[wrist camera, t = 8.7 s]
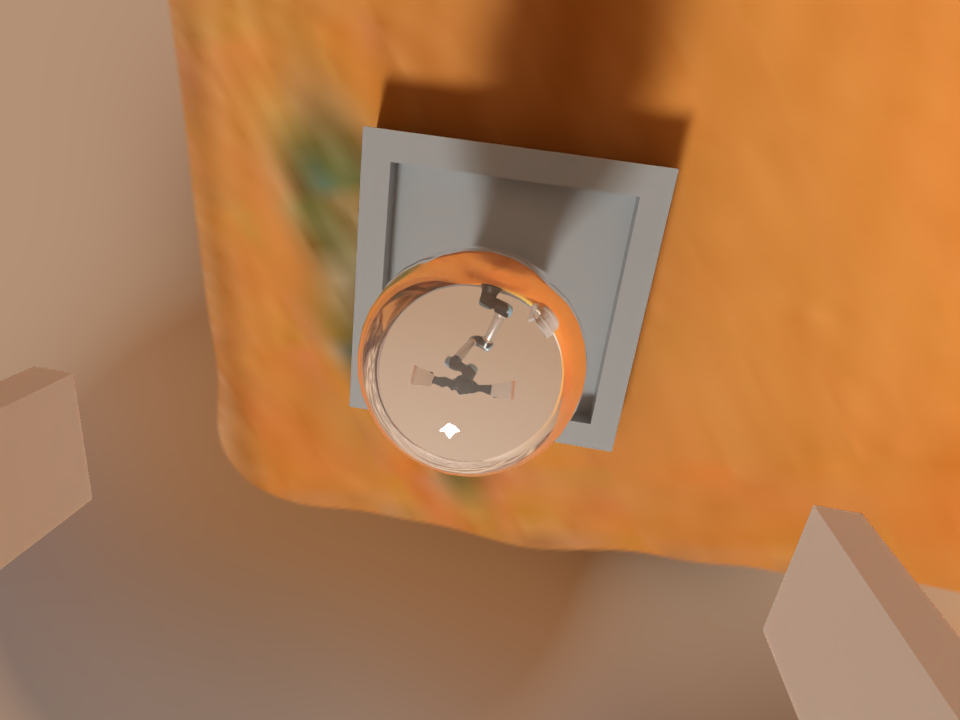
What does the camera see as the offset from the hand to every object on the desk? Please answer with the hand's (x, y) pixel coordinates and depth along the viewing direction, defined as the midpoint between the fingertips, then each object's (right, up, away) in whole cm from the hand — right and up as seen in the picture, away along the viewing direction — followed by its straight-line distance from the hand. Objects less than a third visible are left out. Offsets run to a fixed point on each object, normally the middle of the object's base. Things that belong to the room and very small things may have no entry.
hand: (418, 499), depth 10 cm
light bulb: (+2, +6, +15) cm, 17 cm away
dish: (+2, +6, +16) cm, 17 cm away
